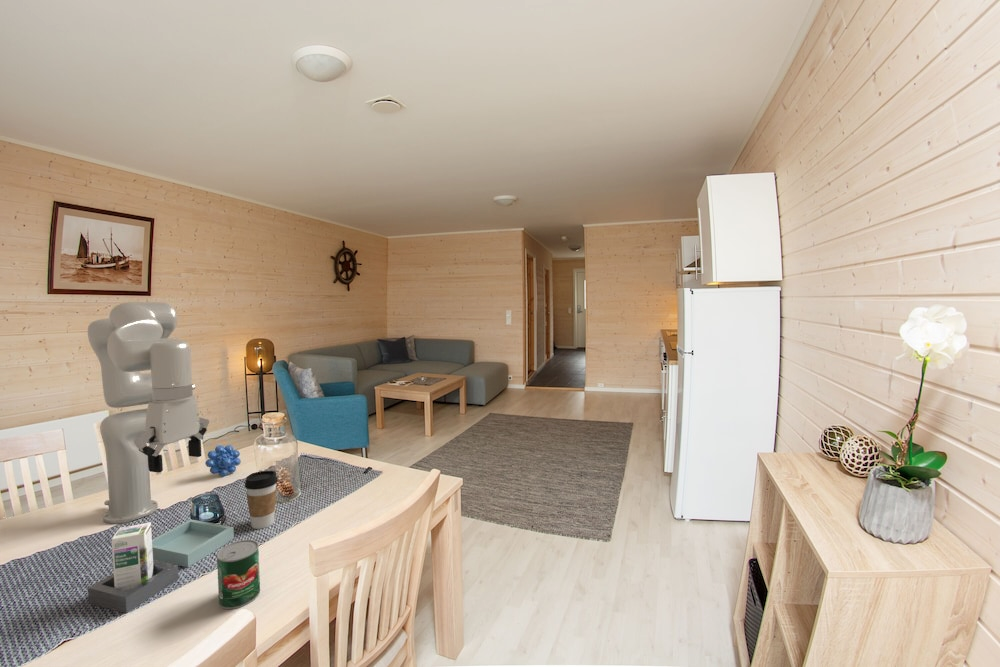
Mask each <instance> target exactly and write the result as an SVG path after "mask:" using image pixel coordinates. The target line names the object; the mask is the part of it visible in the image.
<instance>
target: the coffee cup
mask: <svg viewBox="0 0 1000 667" xmlns="http://www.w3.org/2000/svg"><path fill="white" fill-rule="evenodd" d="M277 484H278V476H277V472H276V471H275V470H261V471H257V472H253V473H250V474H249V475H247V476H246V478H245V482H244V488H245V489H246V499H247V500H246V501H247V506H248V513H249V514H248V515H249V519H250V526H251V528H252V529H255V530H259V529H265V528H268V527H270V526H272V525H273V524H274V522H275V514H276V513H275V512H276V502H277V501H276V500H277Z"/></svg>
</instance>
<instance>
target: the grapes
mask: <svg viewBox="0 0 1000 667" xmlns="http://www.w3.org/2000/svg"><path fill="white" fill-rule="evenodd" d="M207 457H208V459H206V460H205V465H206V467H207V468H209V472H210V473H211V474H212V475H216V474H217V475H219V476H220V477H225V476H227V475H228V473H230V474H231V473H232V474H233V473H235V472H236V471H237V466H240V465H241V462H242V461H241V458H239V457H240V452H239V450H238V449H236V450H234V447H233V445H232V444H231V445H230V444H229V445H225V446H223V445H217V446H216V447H215V448H214V450H211V451H209V452H208V453H207Z"/></svg>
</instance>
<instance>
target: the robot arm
mask: <svg viewBox="0 0 1000 667" xmlns="http://www.w3.org/2000/svg"><path fill="white" fill-rule="evenodd" d="M178 320H179V319H178V312H177V311H176V308H174V307H173V306H172V304H169V303H168V302H161V301H160V302H159V301H158V302H157V301H156V302H152V301H151V302H149V301H148V302H147V301H145V302H144V301H143V302H140V301H139V302H138V301H132V302H128V301H127V302H123V303H119V304H117V305H115V306H113V308H112V309H111V310H110V312H109V318H101V319H96V320H94V321H93V320H92V322H90V323H89V324H88V326H87V338H88V342H89V345H90V347H91V349H92V350H93V352H94V353H95V355H96V356H97V357H96V358H98V361H99V364H100V371H101V380H102V383H101V384H102V390H103V398H104V402H105V404H106V405H107V407H110V408H113V409H118V408H128V407H136V406H142V405H143V406H144V405H147V408H142V409H141V408H139V409H133V410H128V411H127V410H126V411H121V412H117V413H113V414H110V415H108V416H107V417H105V418H103V420H102V421H101V422H100V425H99V429H100V430H99V432H100V435H101V438H102V442H103V446H104V451H105V458H106V459H105V460H106V471H107V486H108V488H107V489H108V500H107V499H106V500H105V501H104V502H103V503H104V504H103V505H105V506H108V510H107V511H106V512H105V513H103V516H102V520H103V522H105V523H107V524H121V523H127V522H132V521H136V520H138V519H141V518H144V517H145V516H148V515H150V514H152V513H153V512H154V511H156V510H157V509H158V506H159V505H158V501H156V500H154V499H152V495H151V477H150V472H151V473H161V472H163V470H164V468H163V467H164V466H163V465H164V464H163V455H162V454H161V451H162V450H163V448H164V447H165V445H170V444H173V443H175V442H179V441H182V440H185V439H187V438H188V439H189V440H188V442H187V444H188V456H189V457H195V458H200V457H202V441H203V440H204V435H205V433H206V432H207V430H208V429H207V428H208V426H209V424H210V420H209V419H208V418H207V419H206V418H203V417H200V415H199V414H200V412H199V407H198V404H197V400H196V397H195V395H194V394H193V392H194V391H193V390H195V389H196V386H195V384H193V378H192V377H193V374H192V372H193V371H192V355H191V354H192V353H191V345H190V343H189V342H187V341H184V340H183V339H181V338H176V337H170V336H171V335H172V333H173V332H174V331H175V329H176V328H177V325H178ZM143 371H150V373H141V372H143Z"/></svg>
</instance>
